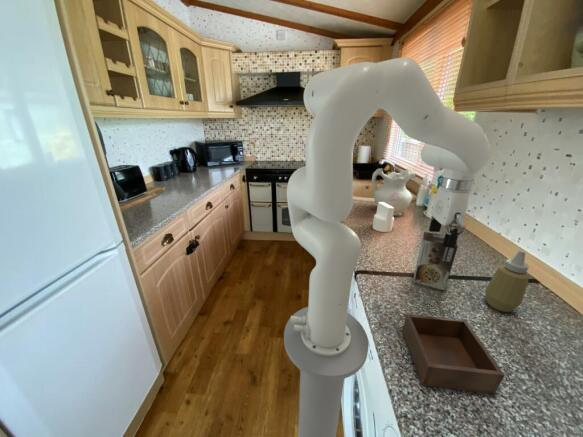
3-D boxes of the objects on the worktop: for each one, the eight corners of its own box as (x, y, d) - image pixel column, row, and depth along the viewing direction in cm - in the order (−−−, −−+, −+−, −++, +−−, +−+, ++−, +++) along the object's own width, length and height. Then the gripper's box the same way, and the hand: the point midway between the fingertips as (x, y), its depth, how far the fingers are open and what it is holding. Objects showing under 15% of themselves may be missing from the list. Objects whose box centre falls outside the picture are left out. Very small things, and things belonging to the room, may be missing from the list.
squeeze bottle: (524, 317, 66) (552, 261, 59) (491, 313, 67) (515, 257, 60) (505, 297, 73) (529, 245, 66) (476, 294, 75) (496, 242, 67)
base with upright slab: (395, 231, 115) (400, 207, 111) (379, 232, 113) (383, 208, 109) (384, 223, 123) (388, 201, 119) (368, 225, 121) (372, 202, 117)
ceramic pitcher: (375, 220, 130) (384, 175, 118) (362, 205, 147) (369, 164, 136) (413, 219, 132) (426, 175, 120) (396, 204, 149) (406, 164, 137)
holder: (422, 385, 49) (428, 366, 47) (402, 331, 61) (406, 314, 59) (494, 394, 47) (504, 375, 45) (459, 336, 60) (465, 319, 58)
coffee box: (443, 280, 81) (457, 237, 75) (444, 291, 76) (459, 246, 69) (413, 272, 85) (424, 230, 78) (412, 282, 79) (423, 239, 73)
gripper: (429, 176, 76) (417, 226, 82) (457, 192, 60) (440, 252, 67) (454, 177, 75) (441, 227, 81) (490, 193, 59) (469, 254, 66)
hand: (440, 238), depth 74 cm, fingers open, 9 cm apart
